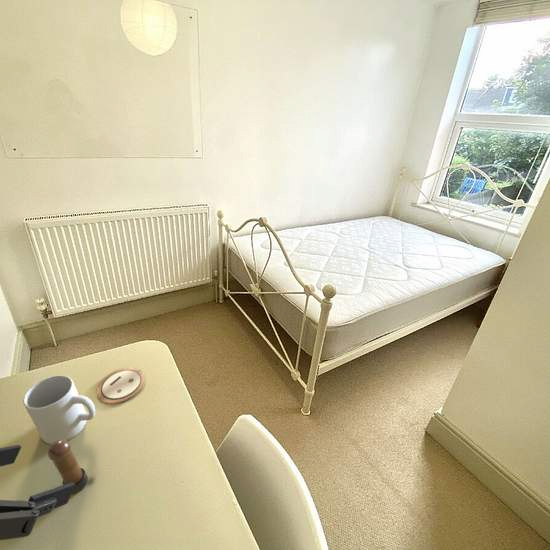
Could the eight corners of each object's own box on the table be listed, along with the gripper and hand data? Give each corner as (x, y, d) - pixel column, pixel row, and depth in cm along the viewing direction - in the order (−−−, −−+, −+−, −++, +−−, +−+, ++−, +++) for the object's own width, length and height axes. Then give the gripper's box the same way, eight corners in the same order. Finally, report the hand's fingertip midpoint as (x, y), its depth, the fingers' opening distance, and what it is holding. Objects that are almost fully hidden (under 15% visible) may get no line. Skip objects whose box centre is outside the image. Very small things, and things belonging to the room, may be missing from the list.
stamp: (61, 488, 56) (38, 449, 50) (79, 470, 59) (60, 431, 53) (74, 498, 55) (52, 459, 49) (92, 478, 58) (74, 439, 52)
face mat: (86, 393, 74) (86, 391, 74) (123, 363, 83) (123, 361, 83) (119, 410, 70) (119, 409, 70) (155, 377, 79) (154, 375, 79)
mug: (31, 444, 63) (11, 408, 58) (57, 408, 70) (41, 374, 65) (90, 445, 63) (75, 410, 58) (110, 409, 71) (98, 375, 65)
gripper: (-233, 508, 34) (-15, 462, 53) (-136, 661, 25) (83, 539, 44) (-188, 437, 36) (7, 418, 55) (-83, 557, 27) (106, 483, 46)
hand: (42, 472), depth 50 cm, fingers open, 13 cm apart
